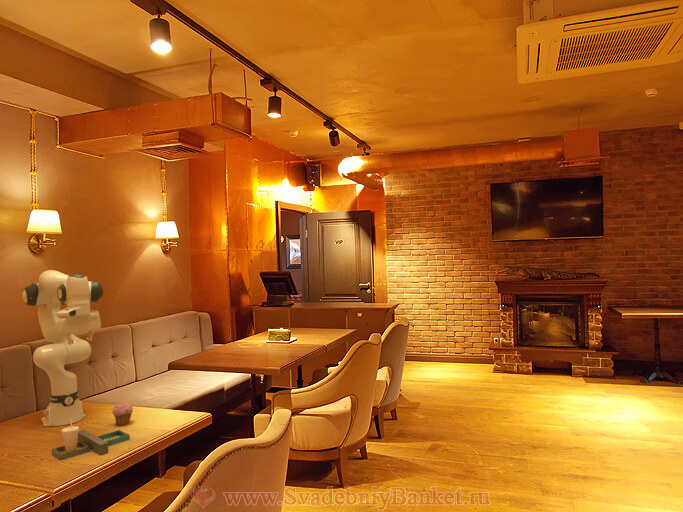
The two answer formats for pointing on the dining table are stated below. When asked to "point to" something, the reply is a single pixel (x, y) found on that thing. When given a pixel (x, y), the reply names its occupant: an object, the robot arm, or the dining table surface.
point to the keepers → (86, 448)
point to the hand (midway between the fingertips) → (80, 342)
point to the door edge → (93, 442)
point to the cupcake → (122, 413)
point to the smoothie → (70, 437)
